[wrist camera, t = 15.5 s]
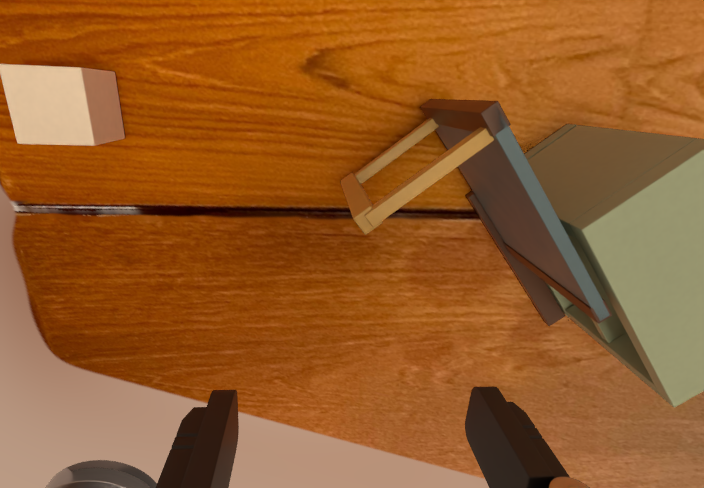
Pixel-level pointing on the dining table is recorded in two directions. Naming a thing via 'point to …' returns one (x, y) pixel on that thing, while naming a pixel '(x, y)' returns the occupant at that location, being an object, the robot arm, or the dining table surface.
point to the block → (62, 105)
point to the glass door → (486, 193)
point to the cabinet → (629, 246)
